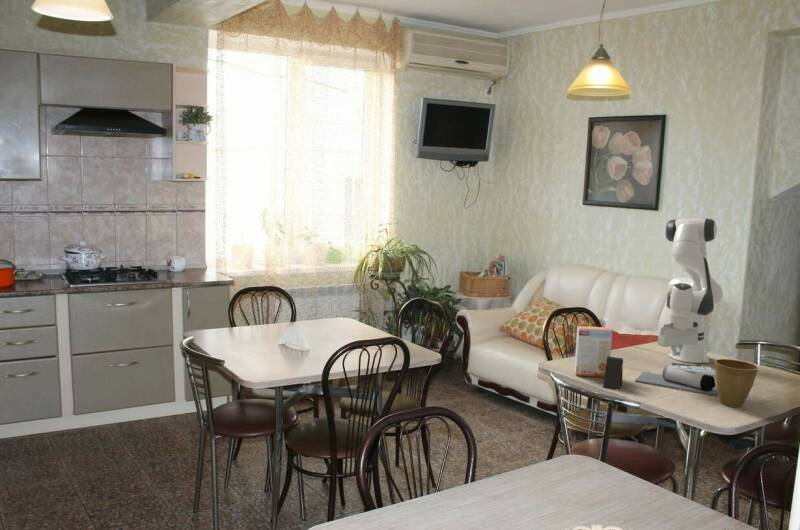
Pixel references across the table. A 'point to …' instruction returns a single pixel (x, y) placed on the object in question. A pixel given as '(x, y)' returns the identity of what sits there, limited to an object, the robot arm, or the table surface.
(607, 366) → the door stopper
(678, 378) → the travel mug
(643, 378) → the rubber mat
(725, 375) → the plant pot
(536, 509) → the table surface
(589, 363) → the cracker box
